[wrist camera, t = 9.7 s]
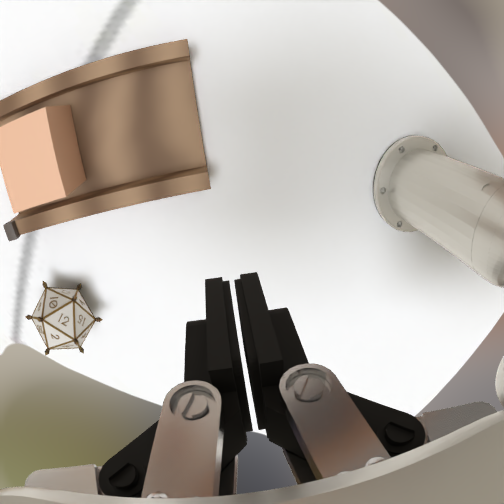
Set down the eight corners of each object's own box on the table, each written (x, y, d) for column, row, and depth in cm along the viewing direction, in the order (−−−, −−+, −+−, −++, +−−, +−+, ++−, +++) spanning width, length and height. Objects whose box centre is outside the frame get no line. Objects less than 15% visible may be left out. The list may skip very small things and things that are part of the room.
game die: (78, 296, 40) (48, 359, 34) (41, 258, 33) (3, 328, 27) (124, 307, 37) (92, 381, 31) (84, 266, 30) (41, 350, 24)
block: (70, 104, 25) (45, 106, 20) (86, 179, 29) (66, 196, 23) (22, 123, 24) (-8, 130, 19) (39, 194, 28) (14, 213, 23)
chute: (187, 45, 26) (186, 36, 22) (208, 179, 32) (211, 192, 28) (-2, 108, 24) (-25, 111, 19) (27, 224, 30) (9, 241, 26)
